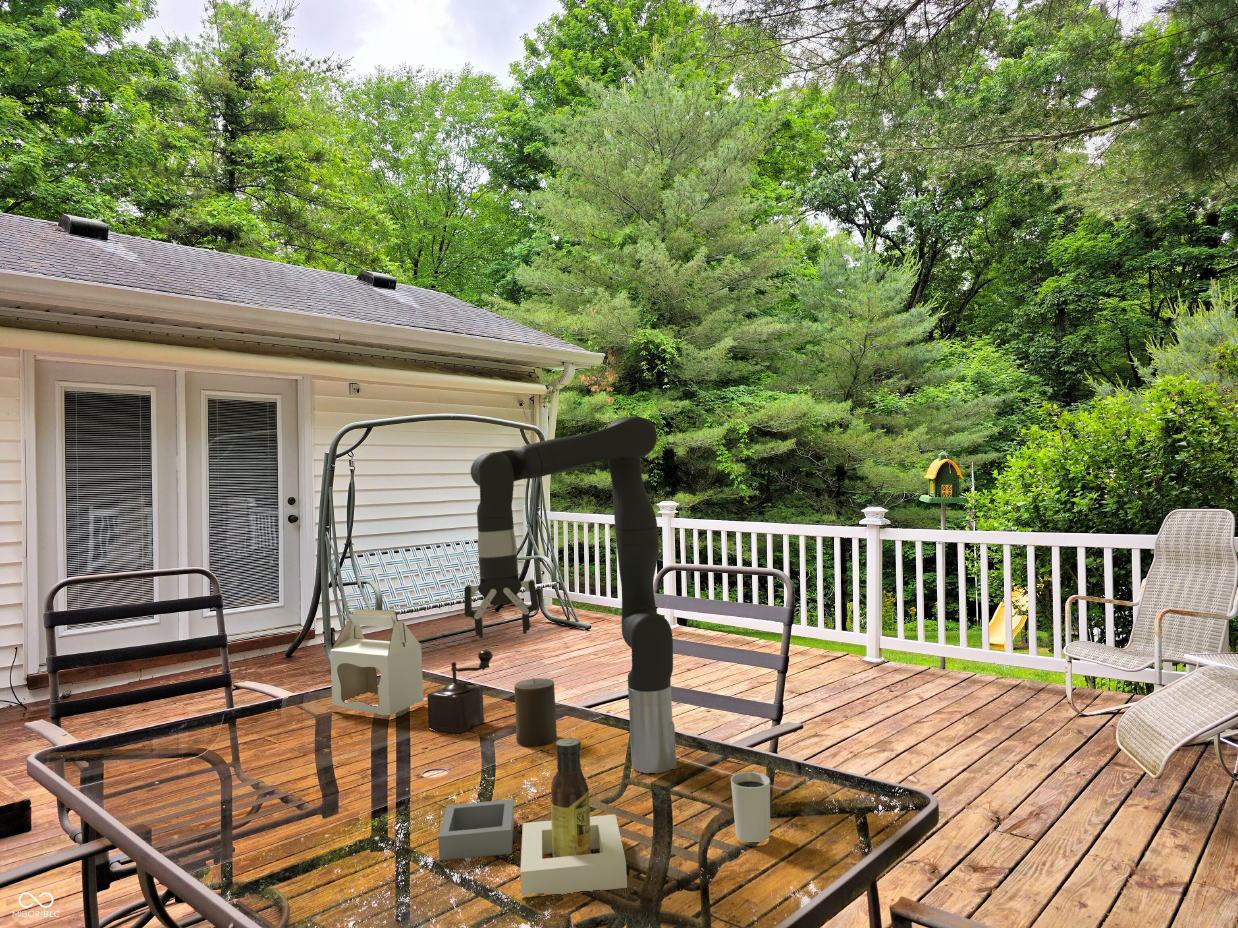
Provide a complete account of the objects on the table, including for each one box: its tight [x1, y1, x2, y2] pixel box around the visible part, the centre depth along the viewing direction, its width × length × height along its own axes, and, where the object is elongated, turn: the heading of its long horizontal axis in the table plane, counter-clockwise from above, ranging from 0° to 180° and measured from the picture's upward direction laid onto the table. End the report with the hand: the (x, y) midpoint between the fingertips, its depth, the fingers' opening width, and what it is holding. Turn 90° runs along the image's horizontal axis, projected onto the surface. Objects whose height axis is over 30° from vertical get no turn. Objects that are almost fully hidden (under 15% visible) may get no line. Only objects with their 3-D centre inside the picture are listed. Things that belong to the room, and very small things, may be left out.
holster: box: [437, 799, 515, 862], centre depth 132 cm, size 12×12×4 cm
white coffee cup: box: [730, 771, 771, 842], centre depth 128 cm, size 7×7×10 cm
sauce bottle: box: [550, 737, 592, 858], centre depth 122 cm, size 7×6×20 cm
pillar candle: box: [513, 677, 558, 748], centre depth 181 cm, size 10×10×15 cm
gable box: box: [329, 608, 425, 715], centre depth 212 cm, size 22×13×28 cm, turn 63°
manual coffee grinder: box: [427, 649, 494, 736], centre depth 196 cm, size 16×11×18 cm
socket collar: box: [519, 814, 628, 897], centre depth 122 cm, size 16×16×4 cm
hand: (503, 635), depth 148 cm, fingers open, 8 cm apart
